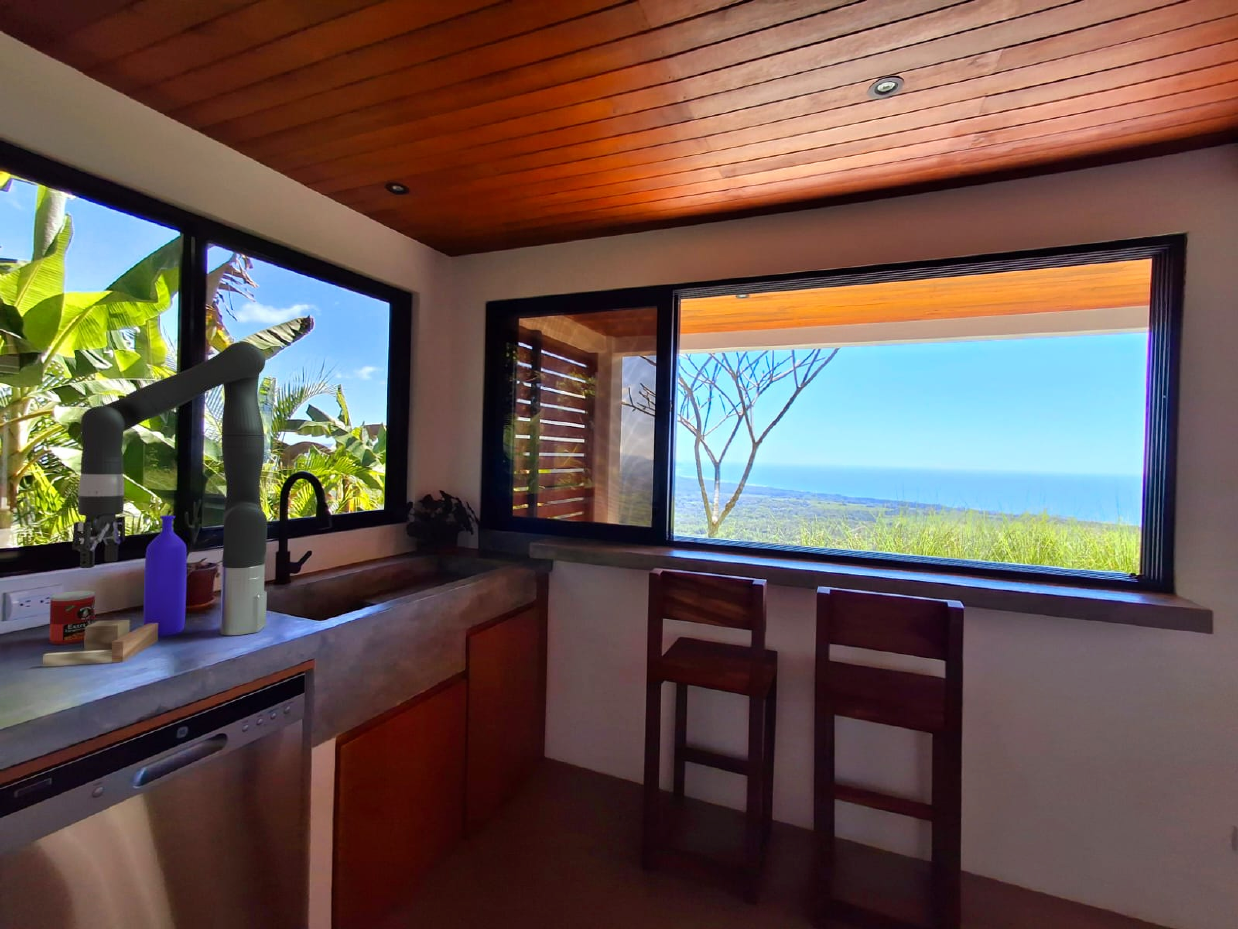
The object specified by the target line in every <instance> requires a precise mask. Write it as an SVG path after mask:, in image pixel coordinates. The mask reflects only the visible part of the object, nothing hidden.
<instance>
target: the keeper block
mask: <svg viewBox="0 0 1238 929" xmlns="http://www.w3.org/2000/svg"><path fill="white" fill-rule="evenodd" d="M130 623H131V621H130V619H117V620H116V619H114V620H113V619H111V620H97V621H94V623H93V624H91V625H88V626H86V627H85V646H84V650H83V651H98V650H112V642H113V641H115V640H117V639H119V638H121V637H123V636H125V635H127V634H129V632H131V631H130V630H131V629H130V627H131V626H130V625H131V624H130Z"/></svg>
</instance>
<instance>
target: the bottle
mask: <svg viewBox="0 0 1238 929" xmlns="http://www.w3.org/2000/svg"><path fill="white" fill-rule="evenodd" d="M159 518H160V519H161V520H162V528H161V532H160V533H159V534H158V535H157V536H155V537H154V539H153V540H152V541H151V542H150V543H149V544H148V545H147V547H146V552H145V560H144V561H145V562H144V581H143V582H144V583H143V585H144V586H143V587H144V588H143V626H144V625H146V624H148V623H158V638H159V637H167V636H171V635H175V634H179V633H181V632H182V631H183V630H184V628H185V624H186V623H185V622H186V602H187V570H188V568H187V563H188V561H187V560H188V559H187V558H188V557H187V556H188V555H187V545H186V543H185V542H184V540H183V539H182V538H180V536H178V535H177V534H176V533H175V532H174V530H173V520H174V519H175V518H176V515H160V516H159Z"/></svg>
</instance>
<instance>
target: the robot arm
mask: <svg viewBox="0 0 1238 929" xmlns="http://www.w3.org/2000/svg"><path fill="white" fill-rule="evenodd" d="M265 365H266V358H265V355H264V352H263V351H262V350H261V349H260V348H259V347H258V346H256V345H254V344H253V343H249V342H245V341H244V342H242V341H241V342H240V341H239V342H234V343H231V344H229V345H228V346H227V347H226V348H224V350H222V351H220V352H219V353H218V354H215V355H214V356H213V357H211V358H209V359H207V360H205V361H204V362H202V363H199V364H197V365H195V366H192V367H191V368H188V369H185V370H184V371H181V372H178V373H176V374H173V375H170V376H168V377H166V378H162V379H159V380H158V381H155V382H153V383H150V384H148V385H145V386H143V387H141V388H138V389H136V390H134V391H132V392H130V393H129V394H126V396H124V397H122V398H120V399H117V400H115V401H112V402H109V403H107V404H104V405H98V406H92V407H91V408H88V409H86V411H85V412H84V413H83V414H82V417H81V422H80V424H81V425H80V428H81V429H80V430H81V445H82V453H81V459H80V476H79V477H80V478H79V482H78V493H77V494H78V498H77V499H78V501H77V503H78V504H77V514H78V515H80V516H84V517H85V520H84V521H75V522H74V523H73V534H72V543H71V544H72V546H71V547H72V550H73V551H74V550H76V551H78V552H79V553H80V554H79V555H80V557H79V560H80V561H79V567H80V568H81V569H92V568H94V567H95V558H96V556H95V555H96V551H95V550H96V547H97V545H98V544H100V543H101V542H102V540H103V542H104V561H105V562H116V561H118V560H119V559H118V558H119V545H121V542H124V541H126V517H125V516H121V514H123V513H124V502H125V501H124V499H125V480H124V454H123V441H124V432H125V431H128V430H129V429H132V428H134V427H135V426H137V425H140V424H142V423H143V422H145V421H146V420H151V419H154V418H156V417H159V416H161V415H162V414H165V413H168V412H170V411H172V410H174V409H176V408H178V407H181V406H182V405H185V404H186V403H188V402H190V401H192V400H194V399H196V398H198V397H199V396H201V395H203V394H205V393H206V392H209V391H211V390H213V389H214V388H215V389H216V388H217V387H219V386H222V385H223V392H224V393H223V394H224V395H223V397H224V398H223V400H224V401H223V409H222V410H223V411H222V418H221V419H222V421H221V453H222V464H223V472H224V476H225V484H226V485H225V486H226V488H225V489H226V490H225V491H226V493H225V502H224V510H223V512H224V513H223V517H222V526H223V549H222V558H221V562H222V563H221V587H220V588H221V593H220V594H221V596H220V624H219V625H220V632H219V633H220V635H224V636H240V635H247V634H252V633H259V632H260V631H261V630H262V629H263V628H265V627H266V626H267V625H266V624H267V601H268V600H267V598H268V597H267V596H268V595H267V594H268V592H267V591H266V590H265V568H266V566H265V565H266V564H265V563H266V554H267V545H268V544H267V543H268V542H267V541H268V518H267V516H266V513H265V512H264V511H263V508H262V501H261V493H260V482H261V476H262V471H263V465H264V459H265V456H264V455H265V431H264V430H265V429H264V423H263V419H262V414H261V410H260V407H259V400H258V398H259V397H258V396H259V395H258V393H259V391H258V390H259V379H260V374H261V373H262V372H263V371H264V369H265ZM117 515H119V516H117Z"/></svg>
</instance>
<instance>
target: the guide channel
mask: <svg viewBox="0 0 1238 929" xmlns="http://www.w3.org/2000/svg"><path fill="white" fill-rule="evenodd" d="M158 639H159V637H158V623H148V624H146V625H144V624H143V625H142V626H141V627H139V628H136V629H135V630H132V631H129V634H127V635H125V636H123V637H121V638H119V639H117V640H115V641H113V642H112V650H98V651H84V650H83V651H65V652H64V651H63V652H48V653H47V652H46V653H45V654H42V667H45V668H46V667H58V666H59V667H60V666H73V665H75V666H76V665H78V666H79V665H91V664H93V665H94V664H108V663H123V662H125V661H127V660H128V659H130V658H132V657H133V656H135V655H137V654H138V653H140V652H142V651H144V650H145V649H147V648H149V647H150V646H152V645H153V644H156V643H157V642H158V641H159V640H158ZM83 644H84V647H85V639H84V641H83Z"/></svg>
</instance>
